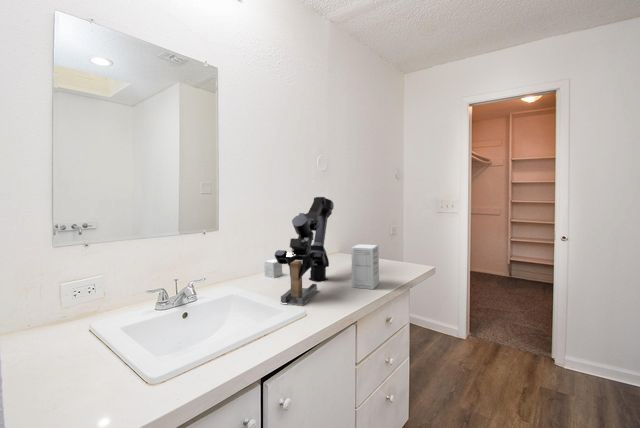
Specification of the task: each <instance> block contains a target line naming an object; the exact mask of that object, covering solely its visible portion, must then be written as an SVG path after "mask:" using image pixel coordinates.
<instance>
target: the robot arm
mask: <svg viewBox="0 0 640 428" xmlns="http://www.w3.org/2000/svg"><path fill="white" fill-rule="evenodd" d="M333 210H334V202H333V201H332V200H331V199H328V198H326V197H324V196H314V197H313V202H312V204H311V206H310V208H309V210H308V212H307V213H303V212H299V214H298V215H295V216H294V217H293V218H292V219H291V223H292V226H293V228H294V231H295V233H296V235H298V236H297V238H295V237H293V238H290V241H289V248H291V252H288V251H287V250H281V249H278V250H276V251H275V253H274V257H275V260H277V261H278V263H279V264H282V265H287V266H288V268H289V269H290V263H291V262H293V261H302V265H301V269H300V272H299V279H300V278H301V277H302V278H303V276H304V275H305V273H306V272H308V271H309V270H310V277H309V278H308V280H311V281H314V282H317V283H319V282H323V281H327V280H329V278H328V277H327V274H326V273H327V270H326V269H327V267H330V262H329V258H328V254H327V251H326V249H325V239H326V232H327V224H328V218H329V217H330V216H331V215H332V214H333ZM313 231H314V232H315V234H314V232H313Z"/></svg>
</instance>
